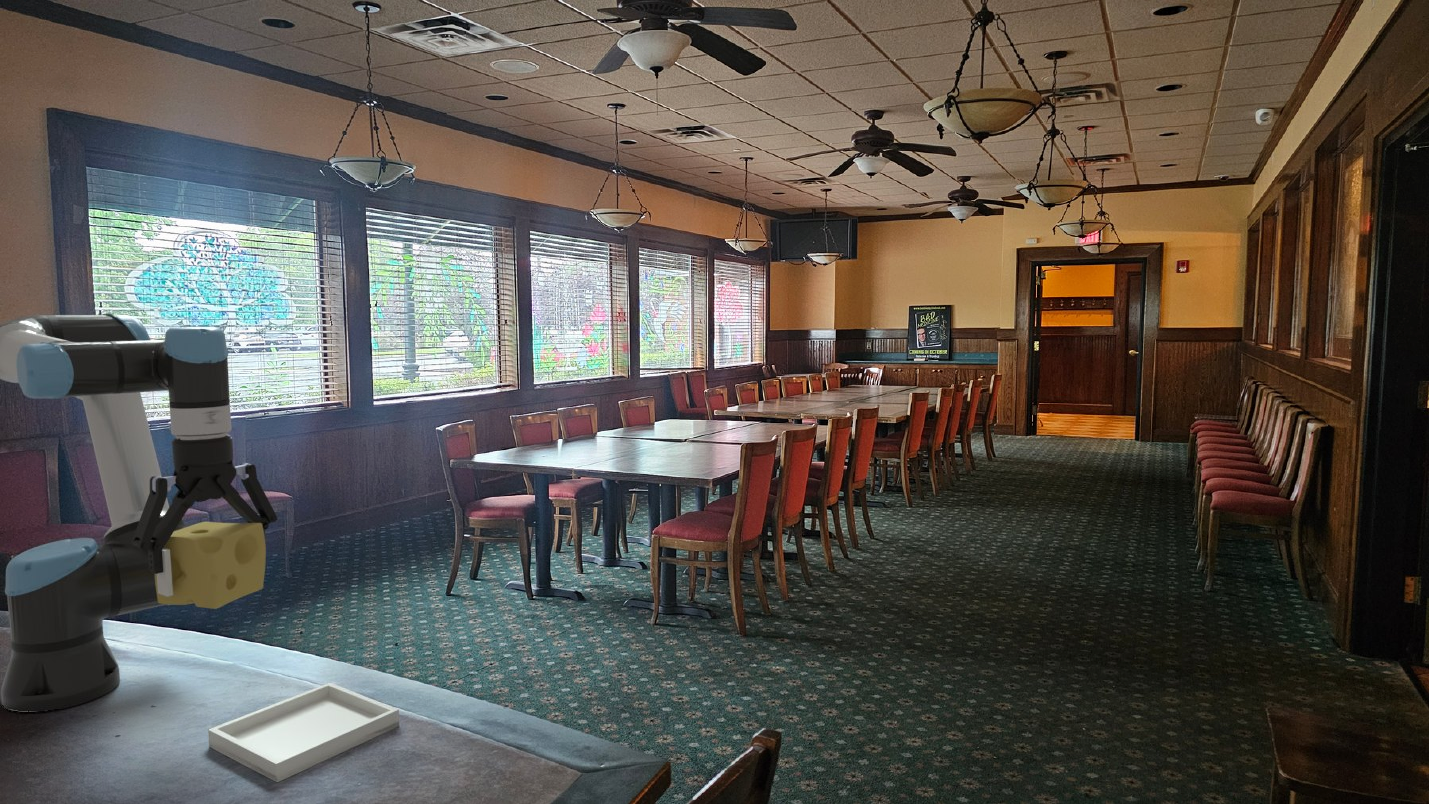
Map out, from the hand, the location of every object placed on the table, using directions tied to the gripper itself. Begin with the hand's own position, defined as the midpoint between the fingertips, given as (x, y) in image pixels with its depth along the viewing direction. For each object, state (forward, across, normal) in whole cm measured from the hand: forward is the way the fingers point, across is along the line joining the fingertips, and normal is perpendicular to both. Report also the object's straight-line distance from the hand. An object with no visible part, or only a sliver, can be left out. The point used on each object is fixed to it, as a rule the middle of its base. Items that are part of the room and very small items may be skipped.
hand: (211, 582), depth 132 cm
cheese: (+2, 0, 0) cm, 2 cm away
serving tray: (+21, +4, -16) cm, 26 cm away
